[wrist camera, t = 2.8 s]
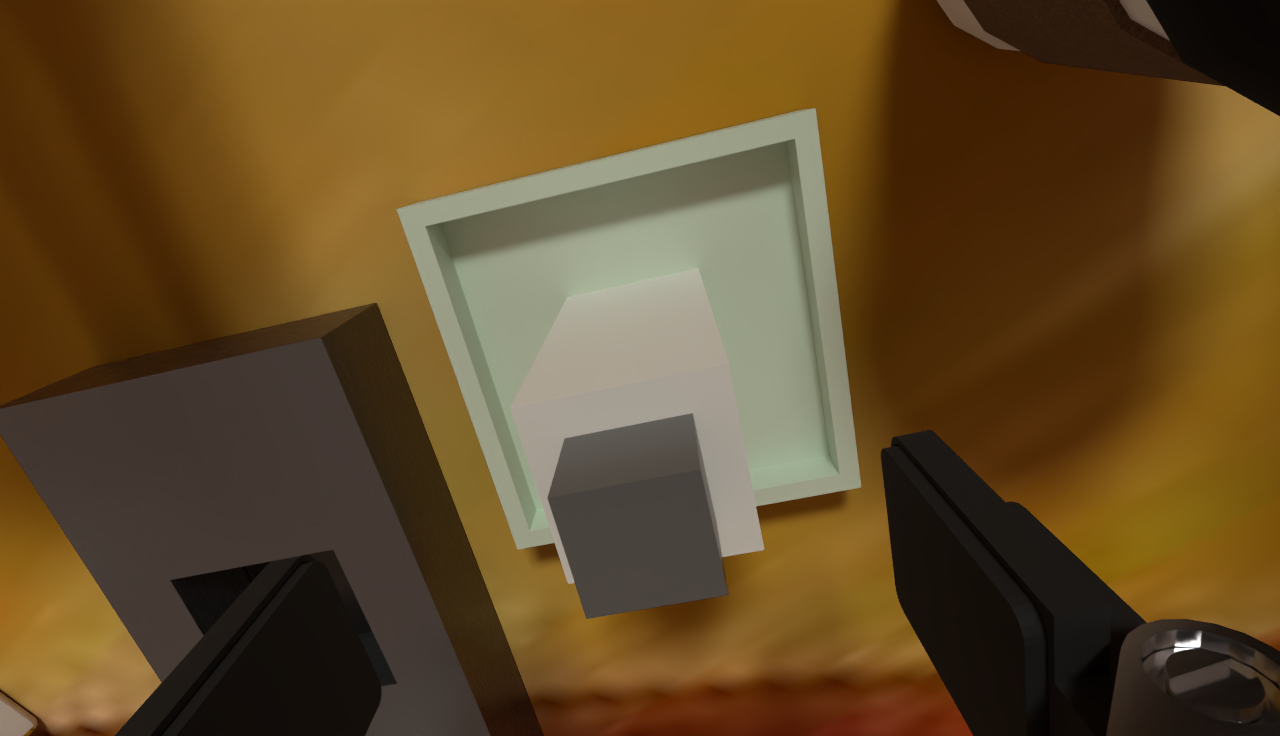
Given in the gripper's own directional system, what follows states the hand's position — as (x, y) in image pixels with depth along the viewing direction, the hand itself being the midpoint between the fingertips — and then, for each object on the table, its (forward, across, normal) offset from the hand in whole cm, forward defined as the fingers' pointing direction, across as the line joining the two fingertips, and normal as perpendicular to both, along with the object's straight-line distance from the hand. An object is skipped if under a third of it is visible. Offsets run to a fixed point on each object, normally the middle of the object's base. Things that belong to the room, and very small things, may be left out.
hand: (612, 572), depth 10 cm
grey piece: (+11, +12, +8) cm, 18 cm away
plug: (+10, -1, -1) cm, 10 cm away
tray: (+10, -1, -1) cm, 11 cm away
